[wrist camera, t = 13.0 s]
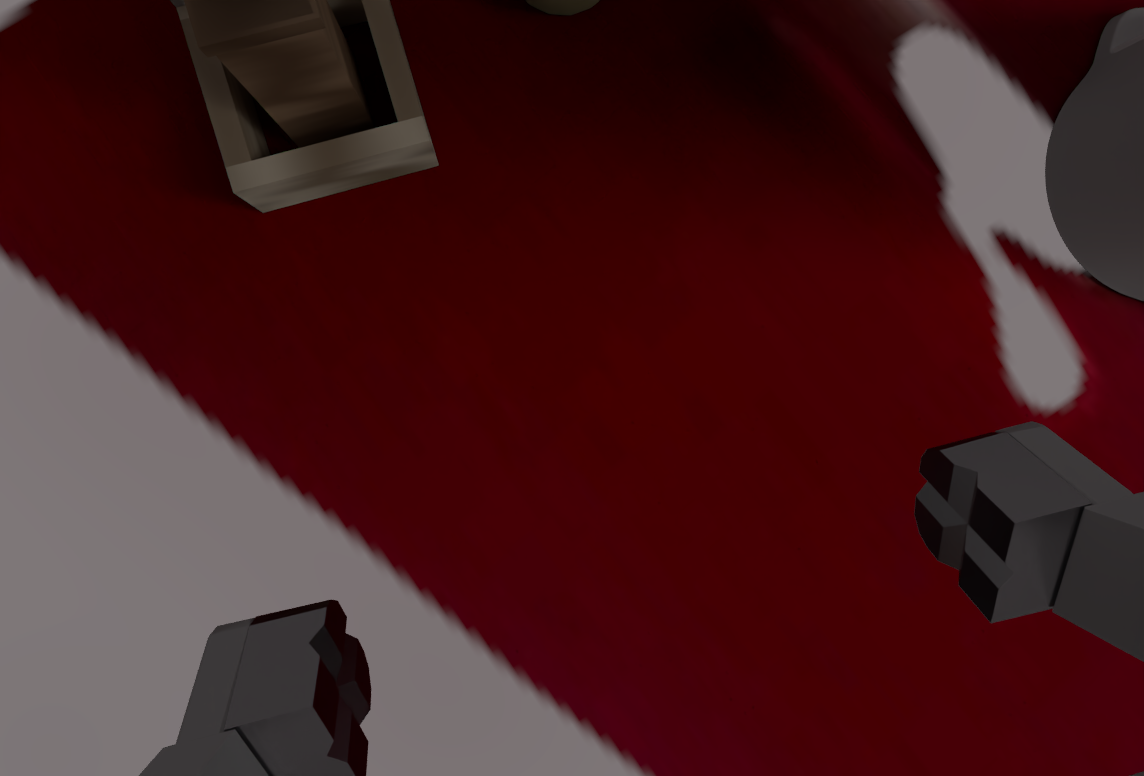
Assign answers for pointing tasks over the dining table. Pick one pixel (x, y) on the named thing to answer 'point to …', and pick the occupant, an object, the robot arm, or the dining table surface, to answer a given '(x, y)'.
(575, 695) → the dining table surface
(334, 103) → the brown capped wooden post
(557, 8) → the squeeze bottle
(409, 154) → the frame
